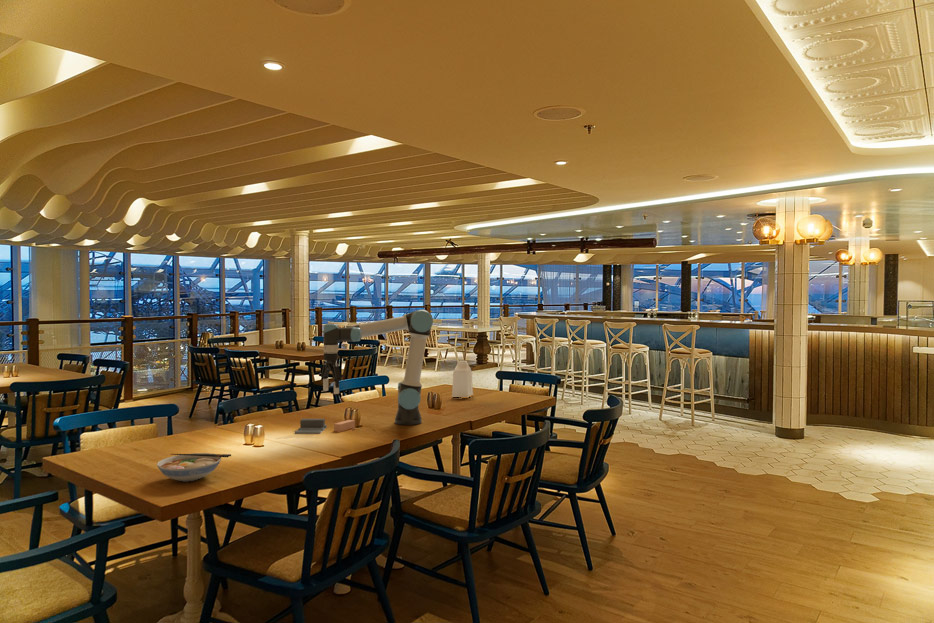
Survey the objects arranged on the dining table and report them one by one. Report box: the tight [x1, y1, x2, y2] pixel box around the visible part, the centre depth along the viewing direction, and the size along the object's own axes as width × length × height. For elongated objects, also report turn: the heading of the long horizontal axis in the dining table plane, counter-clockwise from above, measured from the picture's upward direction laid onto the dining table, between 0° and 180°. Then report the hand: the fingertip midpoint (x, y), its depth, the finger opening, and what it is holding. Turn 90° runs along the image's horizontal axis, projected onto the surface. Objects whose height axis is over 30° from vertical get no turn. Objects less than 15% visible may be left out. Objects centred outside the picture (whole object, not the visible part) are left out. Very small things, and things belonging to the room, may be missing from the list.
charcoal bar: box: [299, 418, 326, 429], centre depth 315 cm, size 12×4×5 cm, turn 91°
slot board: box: [294, 424, 328, 435], centre depth 311 cm, size 13×16×2 cm
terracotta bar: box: [333, 419, 356, 433], centre depth 314 cm, size 12×4×5 cm, turn 151°
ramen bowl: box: [156, 452, 232, 483], centre depth 229 cm, size 25×23×8 cm
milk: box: [451, 360, 474, 398], centre depth 425 cm, size 12×12×26 cm
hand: (331, 392), depth 318 cm, fingers open, 13 cm apart
